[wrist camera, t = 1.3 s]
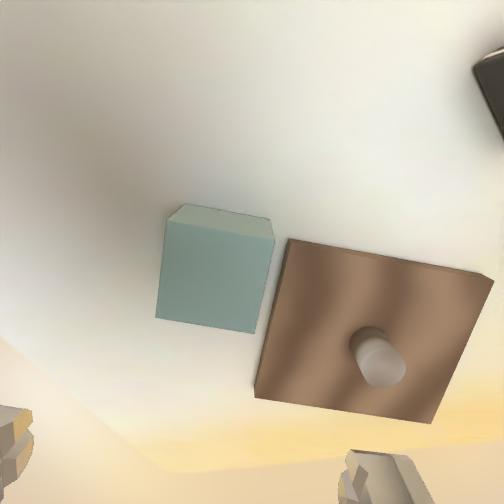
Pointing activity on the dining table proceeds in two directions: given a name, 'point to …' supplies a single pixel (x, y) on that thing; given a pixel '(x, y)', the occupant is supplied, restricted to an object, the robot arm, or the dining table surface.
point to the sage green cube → (214, 268)
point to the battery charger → (493, 82)
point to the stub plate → (355, 303)
